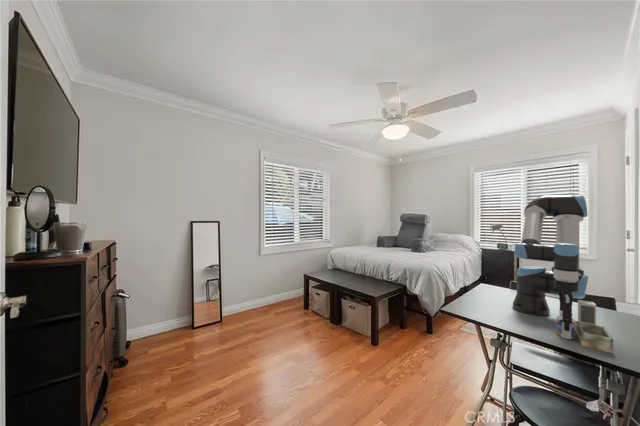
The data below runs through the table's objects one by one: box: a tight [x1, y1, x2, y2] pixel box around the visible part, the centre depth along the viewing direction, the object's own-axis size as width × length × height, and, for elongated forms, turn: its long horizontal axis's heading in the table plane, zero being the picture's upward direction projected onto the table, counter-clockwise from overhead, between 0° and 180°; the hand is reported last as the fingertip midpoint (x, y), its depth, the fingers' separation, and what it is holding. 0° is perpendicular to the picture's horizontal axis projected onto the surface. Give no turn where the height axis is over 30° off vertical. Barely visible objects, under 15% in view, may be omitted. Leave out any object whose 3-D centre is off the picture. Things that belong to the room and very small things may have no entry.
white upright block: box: [577, 299, 597, 325], centre depth 112 cm, size 5×6×10 cm
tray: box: [574, 320, 614, 354], centre depth 105 cm, size 8×25×5 cm, turn 141°
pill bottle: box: [555, 309, 575, 339], centre depth 107 cm, size 5×5×10 cm
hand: (565, 334), depth 107 cm, fingers open, 7 cm apart
